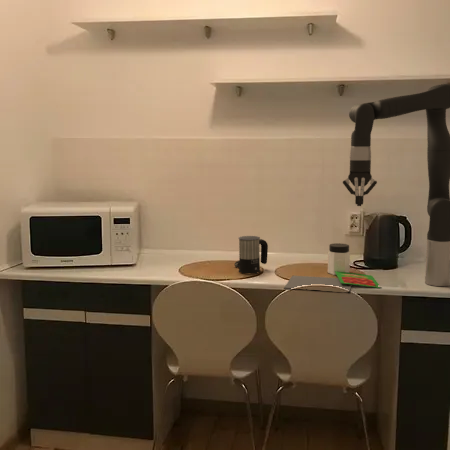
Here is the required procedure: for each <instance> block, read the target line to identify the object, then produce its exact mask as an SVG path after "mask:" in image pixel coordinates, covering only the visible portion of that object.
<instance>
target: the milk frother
mask: <svg viewBox="0 0 450 450" xmlns="http://www.w3.org/2000/svg"><path fill="white" fill-rule="evenodd" d="M238 240H239V242H238V243H239V245H238V249H239V250H238V251H239V252H238V253H239V254H238V255H239V256H238V257H239V260H237V261H235V263H234V267H235V268H237V267H239V269H238V272H239V273H240V272H242V273H241V274H243V273H255V274H258V273H257V272H259V273H260V272H261V268H260V267H261V264H262V265H266V264H267V262H268V252H269V251H268V250H269V249H268V248H269V245H268V242H267V241H266V240H264V239H262V238H261V237H260V236H258V235H257V236H256V235H243V236H238Z"/></svg>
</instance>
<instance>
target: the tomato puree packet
mask: <svg viewBox="0 0 450 450" xmlns="http://www.w3.org/2000/svg"><path fill="white" fill-rule="evenodd" d="M335 273H336V275H335V276H337V277H336V278H339V280H340V282H341V283H343V284H351V286H352V285H354V286H360V287H368V288H377V289H378V288H379V289H381V288H380V287H378V285H380V283H378V281H377V280H376V278H374V275H371V274H370V275H368V274H363V273H355V272H350V273H347V272H338V271H335Z"/></svg>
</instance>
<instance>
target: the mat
mask: <svg viewBox="0 0 450 450" xmlns="http://www.w3.org/2000/svg"><path fill="white" fill-rule="evenodd" d="M311 284H325V285H333V286H339V287H342V288H345V289H348V290H350V291H351V288H352V285H351V284H343V283H341V282H340V280H339V278H338V277H325V276H324V277H323V276H309V275H304V276H303V275H292V276H290V279H288V281H287V283H286V284H285V286H284V287H283V289H284V290H291V288H294V287H297V286H302V285H311Z"/></svg>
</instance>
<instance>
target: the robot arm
mask: <svg viewBox="0 0 450 450" xmlns="http://www.w3.org/2000/svg"><path fill="white" fill-rule="evenodd" d="M449 109H450V84H449V83H443V84H437V85H434V86H431V87H429V88H428V89H427V90H426V91H422V92H419V93H418V92H417V93H413V94H406V95H400V96H399V95H398V96H393V97H387V98H384V99H380V100H376V101H371V102H365V103H359V104H358V103H357V104H354V105H353V106H352V107H351V108H350V109H349V113H348V116H349V119H350V120H351V122H353V123H355V124H354V130H353V131H352V132H351V136H350V151H349V152H350V153H349V174H348V176H347V178H346V179H345V180H343V181H342V184H343V186H344V187H345V188H346V189H347V191H348V192H349V193H350V194H351V195H354V196H355V200H354V201H355V203H354V204H355V205H356V206H357V207H362V205H363V204H364V196H366V195H368V194H369V193H370V192H371V191H372V189H373V188H374V187H375V186H376V185H377V184H378V181H377V180H375V179H373V177H372V174H371V173H372V171H371V166H372V162H371V161H372V150H371V145H372V144H371V143H372V139H371V138H372V137H371V135H372V131H373V127H374V121H375V120H376V121H377V120H383V119H389V118H390V119H391V118H394V117H400V116H404V115H407V114H410V113H414V112H419V111H423V110H425V115H426V124H427V129H426V130H427V132H426V133H427V135H426V137H427V139H426V140H427V148H426V149H427V152H426V154H427V158H426V159H427V160H426V161H427V173H428V174H427V175H428V197H427V199H428V200H427V207H426V211H427V214H428V216H429V223H428V224H429V225H428V231H427V234H426V249H425V250H426V253H425V254H426V256H425V257H426V258H425V275H424V284H427V285H429V286H434V287H435V286H436V287H450V131H449V129H448V124H447V118H446V117H447V110H449ZM350 183H351V184H352V186H353V187H354V189H353V188H352V187H351V185H350ZM368 184H369V185H370V186H368V188H367V189H366V190H365V187H366V186H367V185H368ZM359 187H360V189H359Z"/></svg>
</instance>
